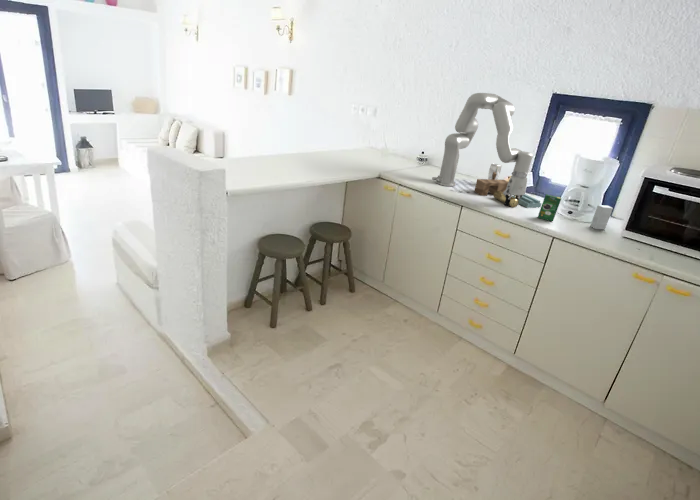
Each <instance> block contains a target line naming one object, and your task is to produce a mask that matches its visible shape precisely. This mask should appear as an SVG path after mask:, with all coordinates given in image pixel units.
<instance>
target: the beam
mask: <svg viewBox="0 0 700 500" xmlns="http://www.w3.org/2000/svg"><path fill="white" fill-rule="evenodd" d="M508 182H509V180H508V181H507V180H505V179H497V180H494V179H488V178H487V179H486V178H485V179H483V178H482V179H480V178H477V180H476V183H475V185H474V186H475V187H474V190H473V192H474V193H475V194H478V195H480V196H481V197H486V196H488V193H489V194H491V195H494V193H495V191H497V190H499V191H501V192H504V191H505V190H506V187H507V184H508Z"/></svg>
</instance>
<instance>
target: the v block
mask: <svg viewBox="0 0 700 500" xmlns="http://www.w3.org/2000/svg"><path fill="white" fill-rule="evenodd" d="M511 197H513V198H515V195H512V196H511ZM518 201H519V203H518V205H520V206H522V207H525V208H528V209H529V208H530V209H531V208H532V209H533V208H536V207H538V208H539V207H540V208H541V206H542V203H543V202H541V200H539V199H536V198H535V197H532V196H530V195H528V194H526V193H525V194H524V195H523V196H522V197H521V198H520V200H518ZM538 208H537V209H538ZM540 208H539V209H540Z"/></svg>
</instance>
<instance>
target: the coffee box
mask: <svg viewBox="0 0 700 500" xmlns="http://www.w3.org/2000/svg"><path fill="white" fill-rule="evenodd" d="M561 200H562V197H560V196H555V195H551V194H547V193H546V194H545V196H544V198H543V200H542V202H541V203H542V204H541V207H540V208H539V211H538V212H539V213H538V215H537V218H538V219H540V220H544V219H545V221H548V220H549V221H548V222H552V221H553V222H554V219H555V217H556V215H557V211H558V210H559V207H560V204H561Z"/></svg>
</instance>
